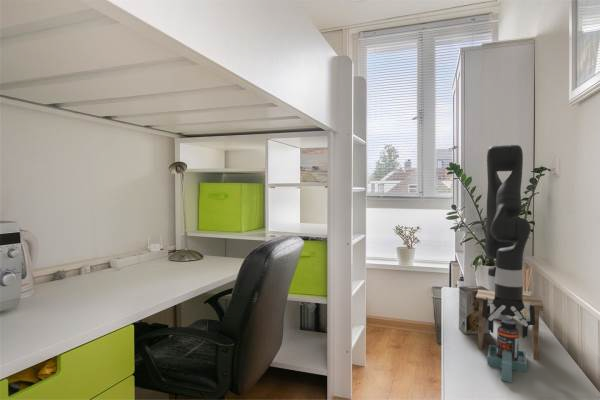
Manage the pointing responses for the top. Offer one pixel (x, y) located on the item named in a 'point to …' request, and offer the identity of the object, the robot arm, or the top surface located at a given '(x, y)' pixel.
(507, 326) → the supplement bottle
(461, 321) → the coffee box
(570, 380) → the top surface
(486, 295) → the wooden bridge stand
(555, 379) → the top surface
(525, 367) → the dustpan
